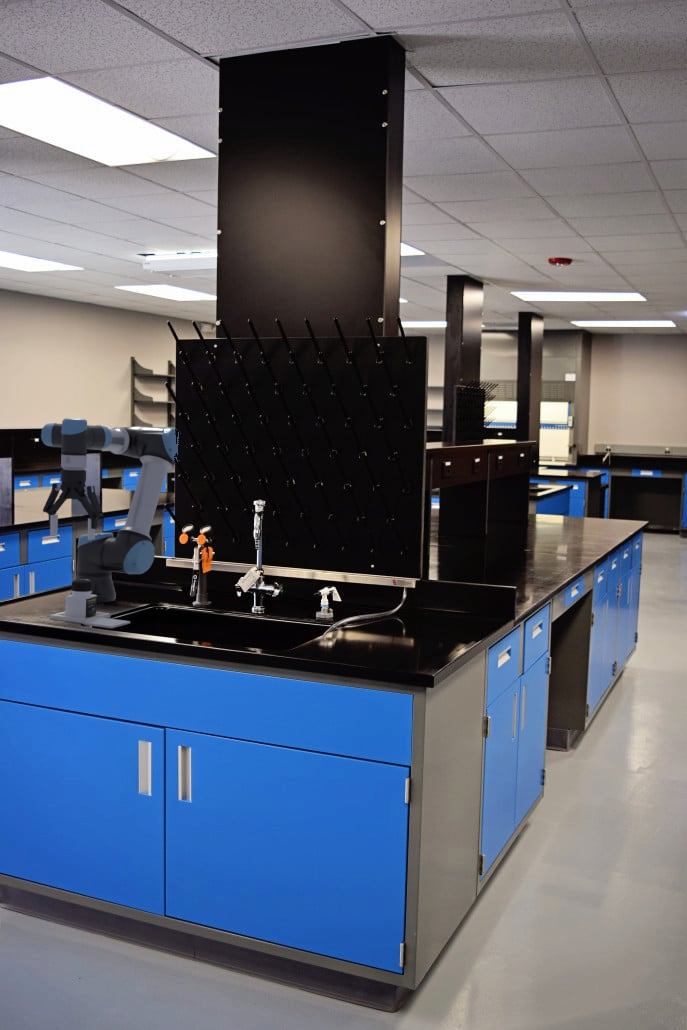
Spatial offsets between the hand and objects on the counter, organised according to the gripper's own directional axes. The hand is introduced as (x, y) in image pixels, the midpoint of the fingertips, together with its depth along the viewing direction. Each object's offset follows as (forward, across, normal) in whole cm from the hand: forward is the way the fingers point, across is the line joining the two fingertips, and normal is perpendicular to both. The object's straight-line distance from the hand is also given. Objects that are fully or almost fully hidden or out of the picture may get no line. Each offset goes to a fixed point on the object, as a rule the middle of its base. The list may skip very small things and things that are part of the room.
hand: (72, 537), depth 291 cm
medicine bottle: (+25, +4, -1) cm, 25 cm away
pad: (+25, +16, -4) cm, 29 cm away
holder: (+25, +4, -1) cm, 25 cm away
